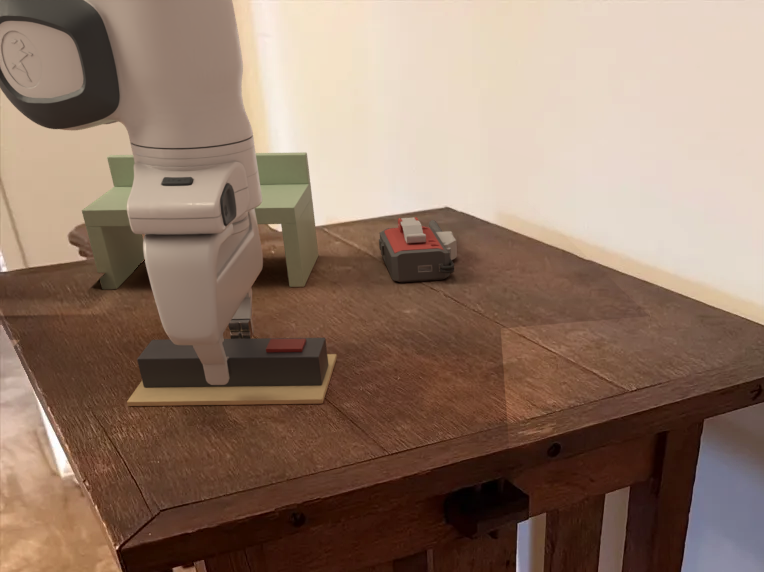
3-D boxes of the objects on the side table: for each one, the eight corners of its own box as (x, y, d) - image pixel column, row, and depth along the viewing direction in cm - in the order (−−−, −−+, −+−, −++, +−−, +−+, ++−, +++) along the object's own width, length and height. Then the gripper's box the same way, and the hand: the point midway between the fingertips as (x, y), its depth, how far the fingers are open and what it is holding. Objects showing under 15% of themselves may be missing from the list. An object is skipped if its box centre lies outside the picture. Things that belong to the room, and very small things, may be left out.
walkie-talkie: (472, 281, 100) (441, 234, 115) (472, 238, 97) (439, 196, 113) (393, 287, 99) (371, 238, 114) (390, 244, 96) (368, 200, 111)
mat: (127, 406, 75) (126, 401, 74) (160, 360, 83) (159, 356, 82) (322, 403, 75) (322, 399, 74) (337, 358, 83) (336, 353, 82)
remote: (143, 388, 77) (135, 355, 75) (158, 367, 80) (150, 336, 78) (321, 385, 77) (317, 353, 75) (328, 365, 80) (325, 333, 78)
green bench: (102, 289, 99) (73, 178, 92) (134, 257, 109) (110, 154, 102) (304, 286, 99) (290, 175, 92) (318, 255, 109) (307, 152, 102)
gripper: (191, 154, 77) (221, 318, 86) (117, 214, 61) (163, 409, 70) (266, 153, 77) (288, 317, 86) (211, 213, 61) (246, 408, 70)
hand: (232, 359), depth 78 cm, fingers open, 8 cm apart
